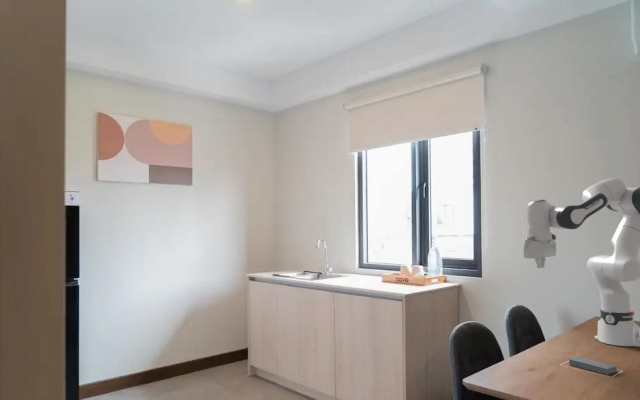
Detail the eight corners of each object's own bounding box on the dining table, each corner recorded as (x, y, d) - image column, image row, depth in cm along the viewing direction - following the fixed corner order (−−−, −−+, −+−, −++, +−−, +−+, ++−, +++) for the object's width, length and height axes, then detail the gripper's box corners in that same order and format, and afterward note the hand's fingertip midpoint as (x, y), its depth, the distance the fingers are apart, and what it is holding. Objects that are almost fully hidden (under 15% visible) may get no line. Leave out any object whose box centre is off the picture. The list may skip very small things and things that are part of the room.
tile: (578, 356, 172) (616, 366, 160) (578, 363, 172) (616, 373, 160) (569, 359, 169) (607, 369, 157) (569, 365, 169) (607, 376, 157)
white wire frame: (571, 359, 176) (623, 370, 161) (571, 360, 176) (623, 372, 161) (559, 364, 169) (611, 377, 155) (559, 366, 169) (611, 378, 155)
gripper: (532, 237, 186) (534, 270, 185) (558, 235, 197) (560, 266, 196) (518, 237, 191) (520, 269, 190) (544, 235, 202) (546, 265, 201)
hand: (540, 267), depth 193 cm, fingers closed
